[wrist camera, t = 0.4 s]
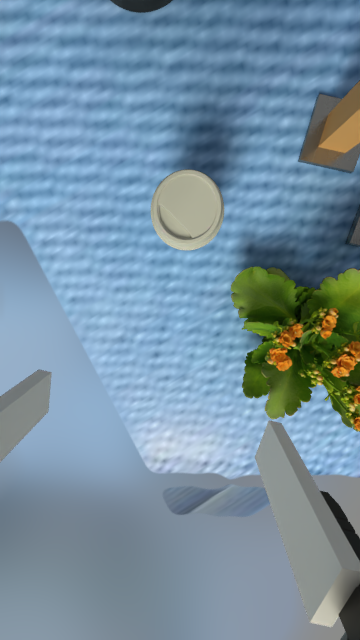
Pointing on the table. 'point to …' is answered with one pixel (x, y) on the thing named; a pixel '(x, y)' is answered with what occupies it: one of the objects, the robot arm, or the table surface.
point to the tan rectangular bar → (343, 123)
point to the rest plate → (313, 137)
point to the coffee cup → (187, 209)
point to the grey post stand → (355, 231)
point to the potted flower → (301, 340)
